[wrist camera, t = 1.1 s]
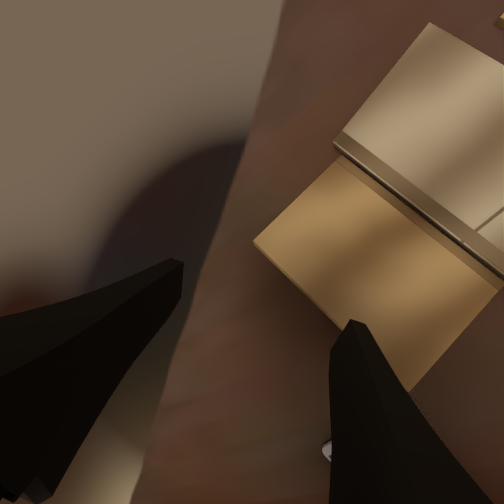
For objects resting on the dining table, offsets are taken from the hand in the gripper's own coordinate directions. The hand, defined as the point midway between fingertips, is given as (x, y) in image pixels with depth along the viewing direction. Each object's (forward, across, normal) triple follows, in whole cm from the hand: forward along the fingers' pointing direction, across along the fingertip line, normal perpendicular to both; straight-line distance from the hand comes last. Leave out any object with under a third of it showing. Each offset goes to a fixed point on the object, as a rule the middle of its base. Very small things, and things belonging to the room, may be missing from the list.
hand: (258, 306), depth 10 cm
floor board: (+12, -10, -6) cm, 17 cm away
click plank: (+8, -6, +1) cm, 10 cm away
